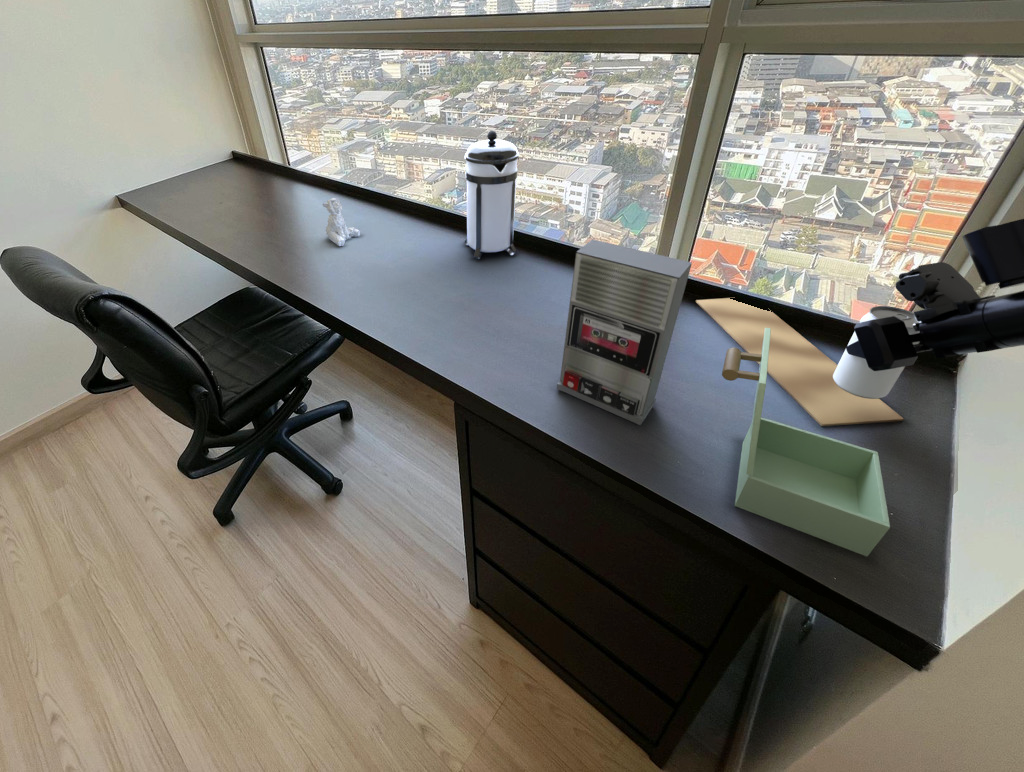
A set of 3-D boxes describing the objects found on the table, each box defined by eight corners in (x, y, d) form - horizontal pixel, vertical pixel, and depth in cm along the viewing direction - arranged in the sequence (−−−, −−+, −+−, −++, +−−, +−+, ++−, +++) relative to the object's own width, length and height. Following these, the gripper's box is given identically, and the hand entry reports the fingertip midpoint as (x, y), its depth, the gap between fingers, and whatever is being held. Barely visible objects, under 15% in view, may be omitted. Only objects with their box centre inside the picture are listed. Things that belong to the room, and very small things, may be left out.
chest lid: (771, 328, 59) (730, 324, 61) (766, 383, 51) (719, 377, 53) (758, 413, 65) (722, 407, 67) (752, 475, 57) (711, 466, 59)
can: (820, 377, 72) (853, 309, 66) (853, 368, 74) (889, 300, 67) (864, 404, 67) (905, 333, 61) (899, 394, 68) (943, 323, 62)
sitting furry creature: (341, 247, 134) (334, 206, 128) (318, 242, 138) (310, 202, 132) (361, 235, 141) (356, 195, 134) (339, 230, 145) (332, 191, 138)
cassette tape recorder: (555, 390, 80) (572, 253, 66) (572, 372, 84) (591, 238, 70) (639, 427, 72) (678, 280, 58) (654, 405, 76) (693, 262, 62)
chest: (858, 481, 62) (878, 451, 59) (867, 556, 54) (890, 527, 51) (742, 443, 68) (754, 415, 65) (734, 506, 60) (748, 477, 57)
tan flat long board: (902, 420, 70) (904, 418, 70) (821, 426, 70) (822, 424, 70) (752, 297, 100) (753, 296, 100) (695, 301, 100) (695, 300, 100)
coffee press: (530, 244, 129) (538, 126, 113) (498, 266, 119) (502, 140, 103) (477, 231, 139) (477, 120, 122) (443, 251, 128) (439, 133, 112)
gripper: (1041, 243, 56) (900, 284, 71) (906, 264, 54) (790, 302, 69) (1086, 335, 54) (930, 357, 69) (947, 362, 51) (817, 379, 66)
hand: (867, 346), depth 68 cm, fingers closed on can, 6 cm apart
